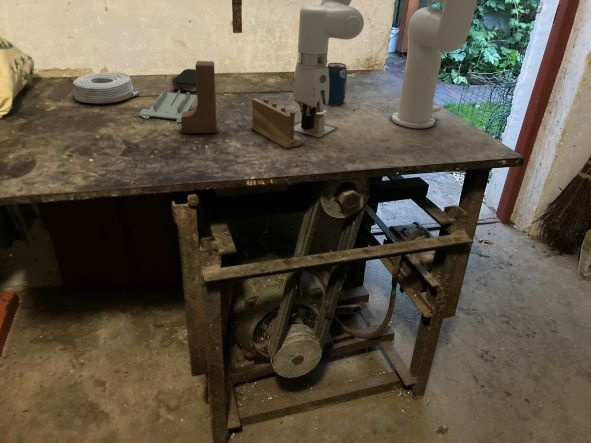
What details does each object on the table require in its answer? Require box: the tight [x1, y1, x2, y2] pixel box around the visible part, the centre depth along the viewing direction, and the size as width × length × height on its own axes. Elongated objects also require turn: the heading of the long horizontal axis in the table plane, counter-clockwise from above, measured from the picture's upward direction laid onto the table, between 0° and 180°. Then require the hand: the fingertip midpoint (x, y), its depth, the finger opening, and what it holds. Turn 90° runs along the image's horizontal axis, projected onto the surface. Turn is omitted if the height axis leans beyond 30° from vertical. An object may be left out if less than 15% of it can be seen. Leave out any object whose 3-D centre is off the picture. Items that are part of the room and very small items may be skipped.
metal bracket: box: [138, 89, 197, 123], centre depth 141 cm, size 14×6×15 cm
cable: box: [72, 71, 140, 104], centre depth 149 cm, size 18×18×6 cm
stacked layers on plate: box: [294, 107, 336, 138], centre depth 135 cm, size 10×9×6 cm
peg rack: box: [251, 97, 303, 149], centre depth 127 cm, size 5×16×8 cm, turn 37°
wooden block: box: [180, 60, 218, 134], centre depth 126 cm, size 9×4×18 cm, turn 96°
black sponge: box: [171, 68, 197, 93], centre depth 165 cm, size 16×8×4 cm, turn 172°
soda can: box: [327, 62, 348, 106], centre depth 154 cm, size 7×7×12 cm
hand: (307, 128), depth 131 cm, fingers closed
